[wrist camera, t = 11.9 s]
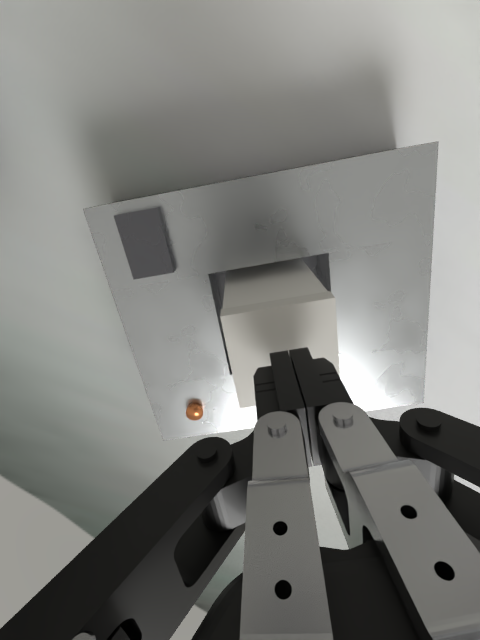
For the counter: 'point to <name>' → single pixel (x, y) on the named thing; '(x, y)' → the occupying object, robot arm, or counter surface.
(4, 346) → the counter surface
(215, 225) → the socket
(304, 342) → the white plain square block
